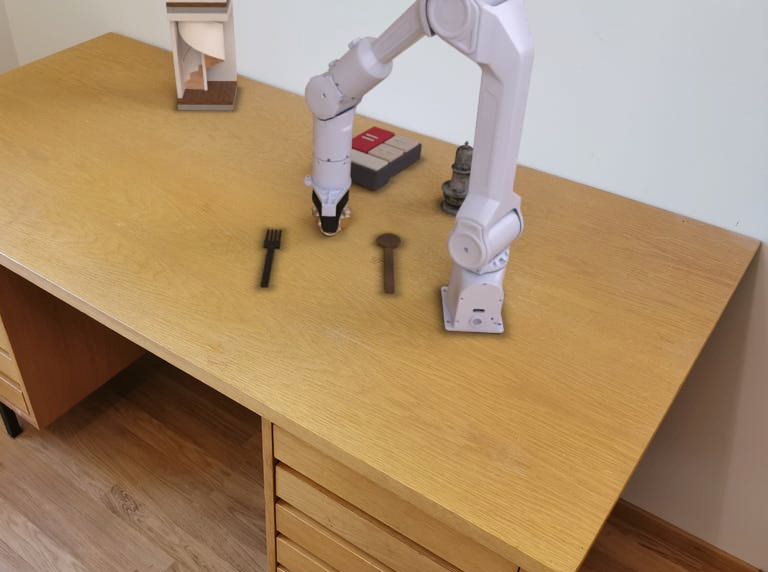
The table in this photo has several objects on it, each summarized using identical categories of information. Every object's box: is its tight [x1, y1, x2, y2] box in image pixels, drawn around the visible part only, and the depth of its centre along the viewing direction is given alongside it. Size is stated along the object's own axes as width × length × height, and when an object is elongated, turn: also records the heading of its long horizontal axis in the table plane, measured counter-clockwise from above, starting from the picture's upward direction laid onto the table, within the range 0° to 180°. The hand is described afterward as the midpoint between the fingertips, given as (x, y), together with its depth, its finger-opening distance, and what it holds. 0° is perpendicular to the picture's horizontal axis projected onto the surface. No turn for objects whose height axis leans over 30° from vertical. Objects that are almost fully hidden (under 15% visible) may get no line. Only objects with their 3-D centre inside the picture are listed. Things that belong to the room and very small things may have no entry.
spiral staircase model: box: [165, 0, 239, 111], centre depth 146 cm, size 11×11×35 cm
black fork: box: [260, 228, 283, 289], centre depth 116 cm, size 15×3×1 cm, turn 175°
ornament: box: [311, 204, 353, 237], centre depth 122 cm, size 8×7×4 cm
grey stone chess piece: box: [440, 140, 473, 216], centre depth 122 cm, size 6×6×12 cm
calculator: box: [350, 125, 423, 191], centre depth 135 cm, size 11×4×15 cm
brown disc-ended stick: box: [377, 232, 401, 294], centre depth 115 cm, size 15×4×1 cm, turn 175°
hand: (329, 230), depth 119 cm, fingers closed
